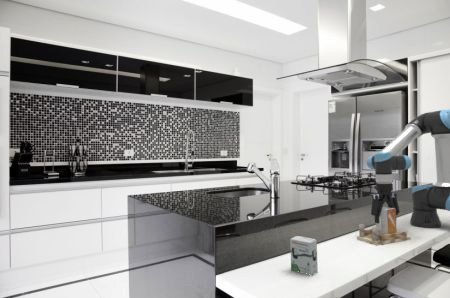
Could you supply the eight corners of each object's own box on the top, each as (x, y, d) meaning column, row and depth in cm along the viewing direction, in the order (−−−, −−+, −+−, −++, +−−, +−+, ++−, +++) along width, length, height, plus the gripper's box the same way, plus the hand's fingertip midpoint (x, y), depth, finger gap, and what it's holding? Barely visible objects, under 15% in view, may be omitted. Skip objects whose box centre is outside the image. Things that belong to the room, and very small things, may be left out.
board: (389, 234, 161) (388, 219, 161) (411, 239, 150) (410, 224, 150) (356, 239, 153) (355, 224, 154) (376, 245, 142) (376, 229, 142)
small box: (388, 237, 147) (387, 209, 148) (375, 234, 153) (374, 208, 153) (397, 234, 152) (395, 207, 152) (384, 232, 157) (383, 206, 158)
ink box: (290, 270, 114) (289, 238, 114) (297, 266, 118) (296, 235, 118) (311, 276, 108) (310, 242, 108) (318, 272, 111) (317, 239, 112)
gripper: (393, 181, 160) (395, 224, 160) (361, 183, 153) (363, 229, 152) (406, 182, 153) (408, 227, 153) (373, 184, 146) (375, 232, 145)
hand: (386, 228), depth 152 cm, fingers closed on small box, 9 cm apart
